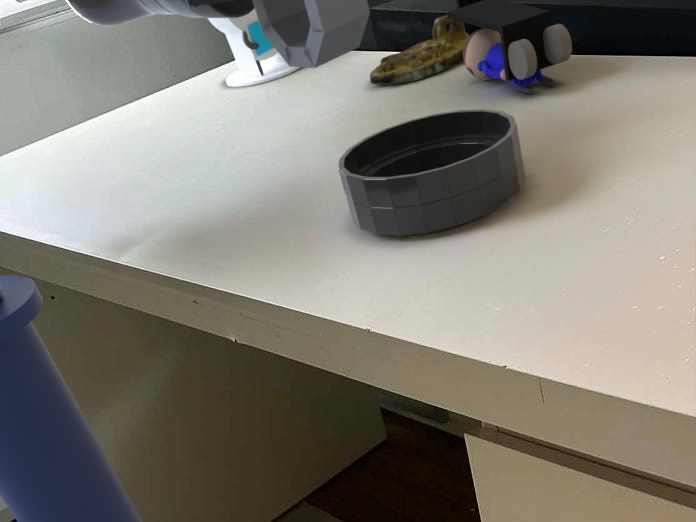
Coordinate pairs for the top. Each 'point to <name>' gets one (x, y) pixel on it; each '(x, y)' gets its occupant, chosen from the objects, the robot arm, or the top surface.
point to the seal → (424, 55)
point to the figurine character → (512, 42)
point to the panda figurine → (251, 51)
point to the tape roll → (312, 28)
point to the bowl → (433, 172)
